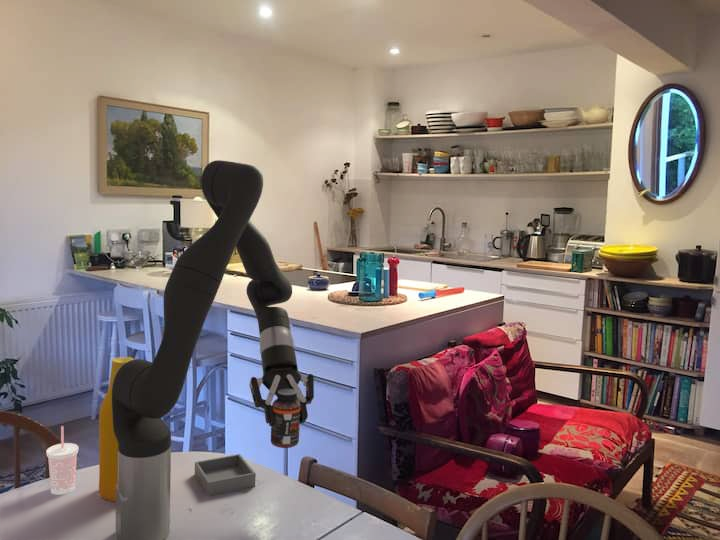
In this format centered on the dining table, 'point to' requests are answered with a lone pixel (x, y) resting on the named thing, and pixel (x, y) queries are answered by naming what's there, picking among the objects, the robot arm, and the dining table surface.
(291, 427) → the supplement bottle
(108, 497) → the yellow bottle
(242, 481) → the tray
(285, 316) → the robot arm
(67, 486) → the beverage cup
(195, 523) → the dining table surface
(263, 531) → the dining table surface
